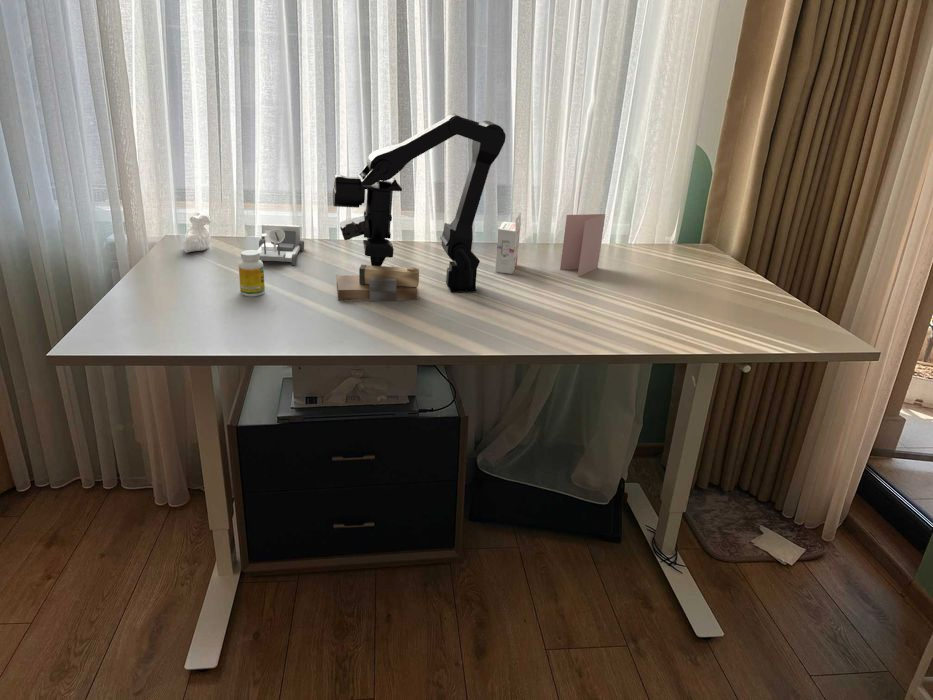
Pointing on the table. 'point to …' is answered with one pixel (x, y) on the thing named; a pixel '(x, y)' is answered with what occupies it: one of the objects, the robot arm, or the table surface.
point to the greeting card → (582, 242)
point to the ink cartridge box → (508, 246)
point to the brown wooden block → (373, 289)
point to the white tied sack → (197, 233)
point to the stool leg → (390, 274)
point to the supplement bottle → (251, 274)
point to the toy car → (280, 243)
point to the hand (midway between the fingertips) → (374, 273)
